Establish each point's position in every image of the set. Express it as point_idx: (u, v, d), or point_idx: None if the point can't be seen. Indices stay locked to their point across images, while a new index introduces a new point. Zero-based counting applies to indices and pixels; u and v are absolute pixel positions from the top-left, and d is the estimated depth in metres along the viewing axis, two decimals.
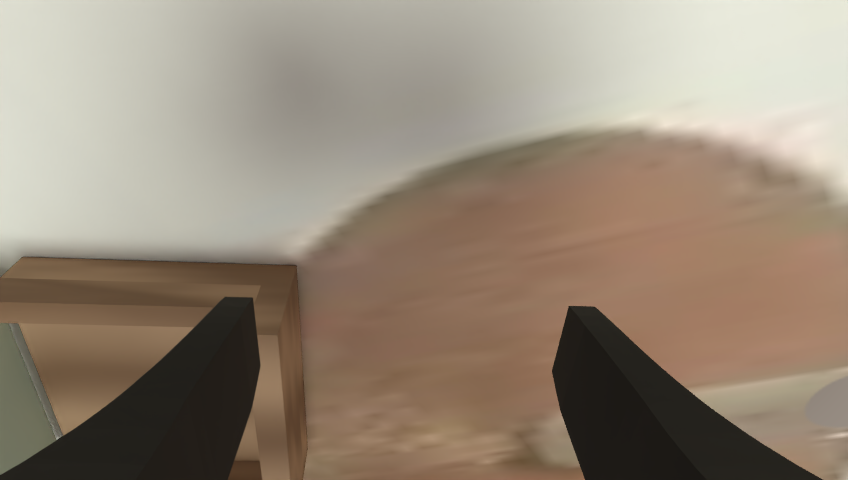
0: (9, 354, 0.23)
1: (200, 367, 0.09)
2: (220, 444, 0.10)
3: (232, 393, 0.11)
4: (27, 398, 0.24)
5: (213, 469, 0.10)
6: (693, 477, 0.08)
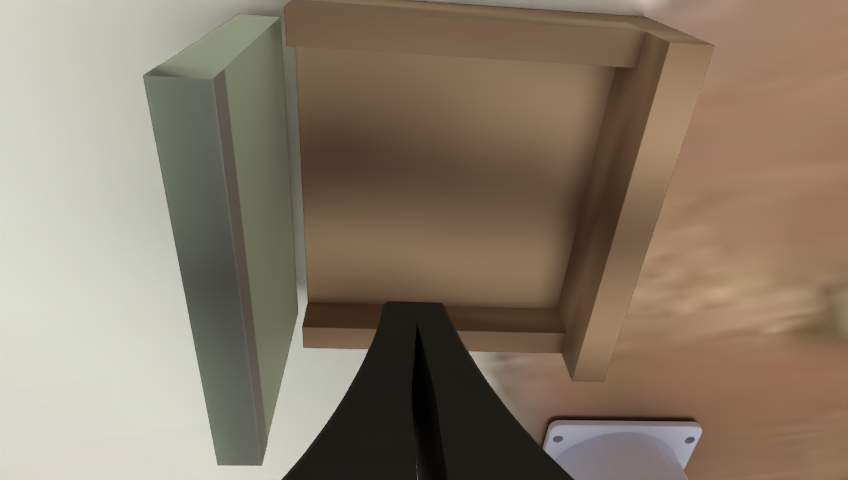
0: (283, 121, 0.17)
1: (407, 371, 0.09)
2: None
3: None
4: (287, 195, 0.18)
5: None
6: (444, 477, 0.07)
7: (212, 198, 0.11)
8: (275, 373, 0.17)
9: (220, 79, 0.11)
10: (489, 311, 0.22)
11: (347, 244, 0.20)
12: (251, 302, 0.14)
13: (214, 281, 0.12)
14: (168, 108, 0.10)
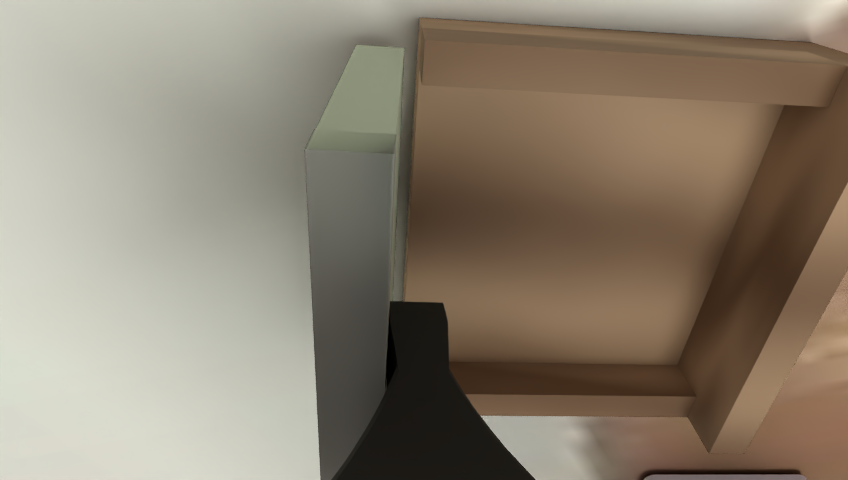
0: None
1: (443, 371, 0.10)
2: None
3: None
4: None
5: None
6: None
7: (369, 295, 0.09)
8: None
9: None
10: (604, 369, 0.19)
11: (452, 299, 0.18)
12: None
13: (355, 387, 0.10)
14: (331, 189, 0.08)
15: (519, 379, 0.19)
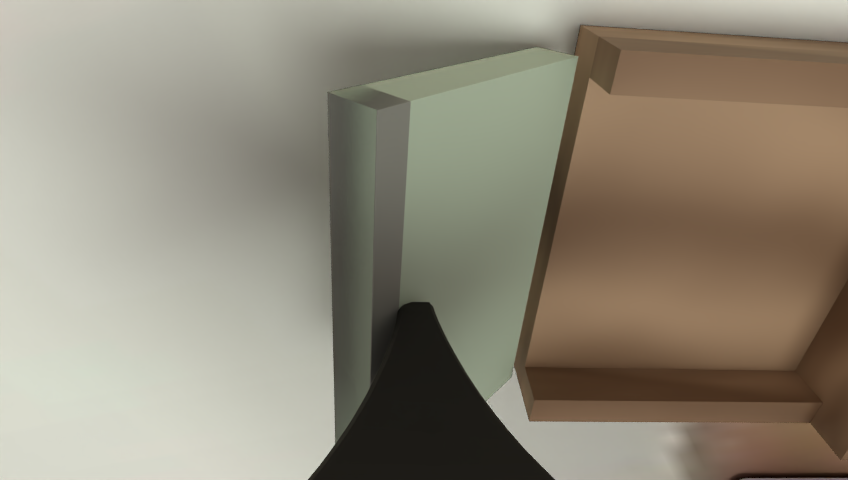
0: (545, 173, 0.15)
1: (426, 371, 0.10)
2: None
3: None
4: (528, 253, 0.16)
5: None
6: None
7: (362, 233, 0.10)
8: None
9: (399, 111, 0.09)
10: (725, 375, 0.19)
11: (585, 306, 0.18)
12: None
13: (354, 315, 0.11)
14: (341, 130, 0.10)
15: (645, 385, 0.19)
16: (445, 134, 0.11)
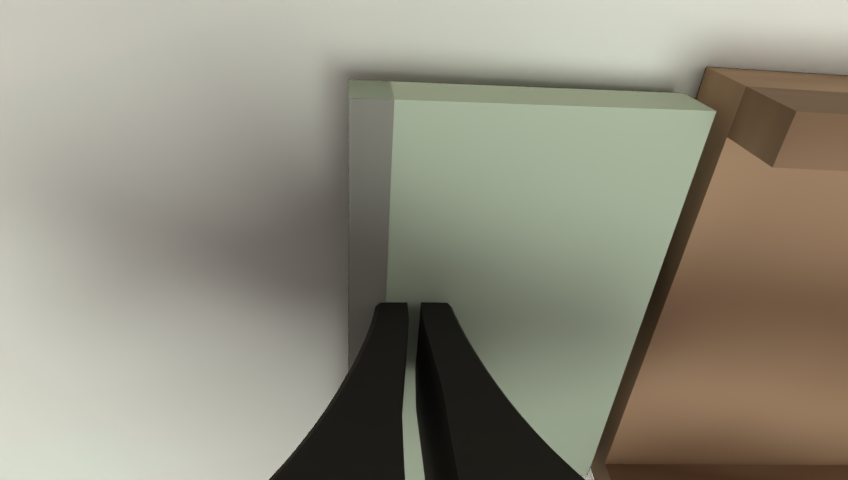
0: (646, 244, 0.12)
1: (398, 370, 0.09)
2: None
3: None
4: (615, 333, 0.13)
5: None
6: (455, 477, 0.07)
7: None
8: None
9: (380, 106, 0.10)
10: (842, 473, 0.16)
11: (685, 398, 0.15)
12: None
13: None
14: None
15: None
16: (449, 146, 0.10)
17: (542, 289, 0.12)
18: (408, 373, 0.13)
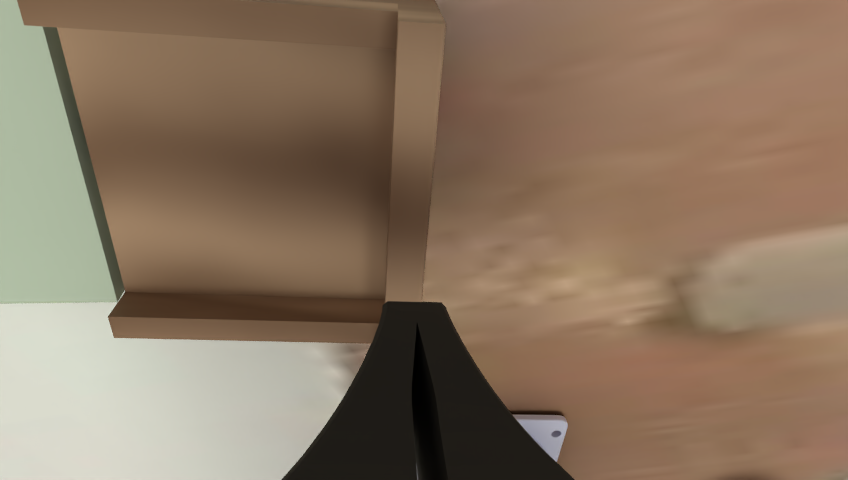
0: (43, 99, 0.17)
1: (407, 371, 0.09)
2: None
3: None
4: (64, 173, 0.18)
5: None
6: (444, 477, 0.07)
7: None
8: None
9: None
10: (312, 301, 0.21)
11: (153, 232, 0.20)
12: None
13: None
14: None
15: (226, 307, 0.21)
16: None
17: None
18: None
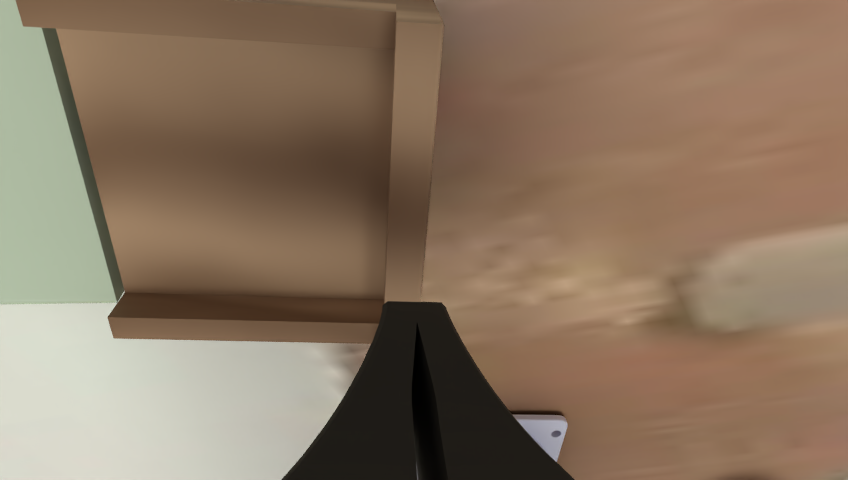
0: (42, 100, 0.17)
1: (407, 371, 0.09)
2: None
3: None
4: (63, 174, 0.18)
5: None
6: (444, 477, 0.07)
7: None
8: None
9: None
10: (312, 301, 0.21)
11: (153, 233, 0.20)
12: None
13: None
14: None
15: (226, 308, 0.21)
16: None
17: None
18: None
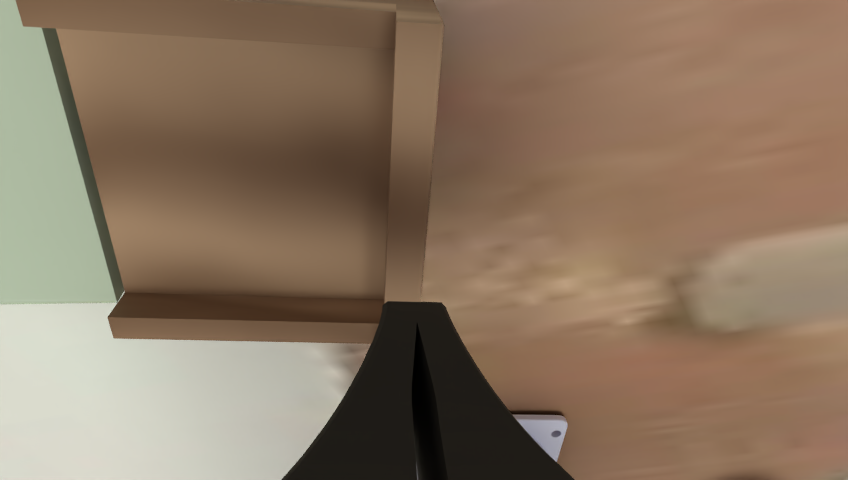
0: (42, 100, 0.17)
1: (407, 371, 0.09)
2: None
3: None
4: (63, 174, 0.18)
5: None
6: (444, 477, 0.07)
7: None
8: None
9: None
10: (312, 301, 0.21)
11: (153, 233, 0.20)
12: None
13: None
14: None
15: (226, 308, 0.21)
16: None
17: None
18: None
